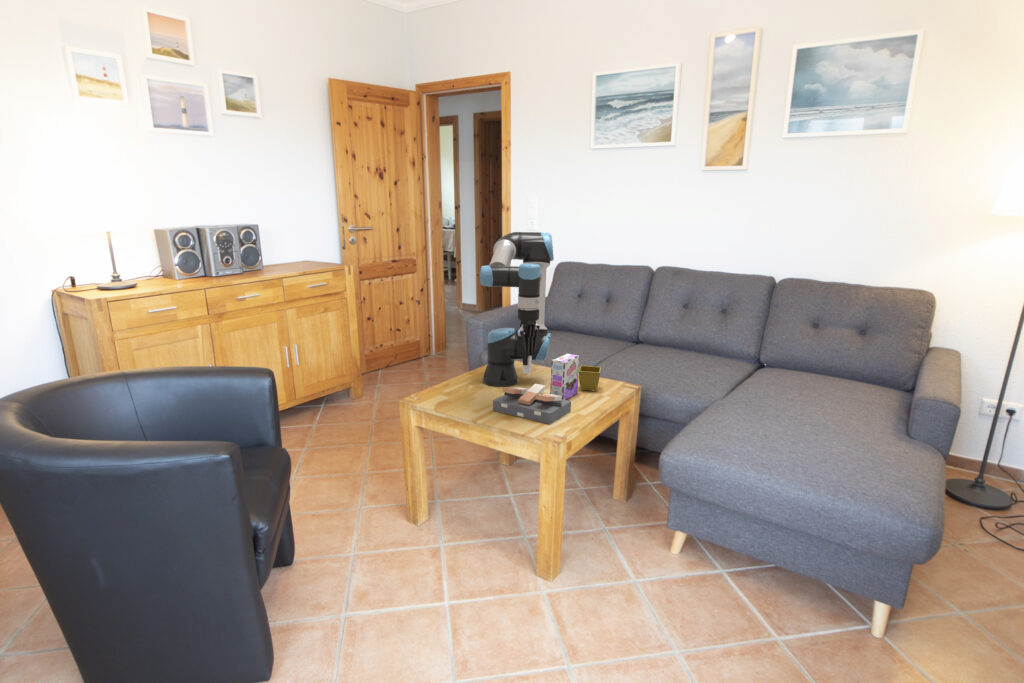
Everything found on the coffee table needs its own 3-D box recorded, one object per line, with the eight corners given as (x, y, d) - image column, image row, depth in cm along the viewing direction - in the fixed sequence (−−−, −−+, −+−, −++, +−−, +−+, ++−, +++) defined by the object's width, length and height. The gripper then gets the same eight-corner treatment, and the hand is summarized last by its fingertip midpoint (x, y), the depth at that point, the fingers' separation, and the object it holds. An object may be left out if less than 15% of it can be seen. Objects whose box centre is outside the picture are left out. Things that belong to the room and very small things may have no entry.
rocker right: (535, 399, 198) (536, 394, 198) (550, 398, 208) (551, 394, 208) (546, 401, 196) (547, 396, 196) (561, 400, 206) (562, 396, 206)
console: (492, 410, 207) (492, 396, 205) (515, 399, 220) (516, 385, 219) (549, 424, 194) (550, 409, 193) (570, 411, 207) (571, 397, 206)
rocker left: (502, 391, 205) (503, 387, 205) (519, 391, 216) (519, 387, 215) (512, 393, 203) (513, 389, 203) (528, 393, 213) (529, 389, 213)
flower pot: (598, 393, 229) (600, 372, 227) (577, 391, 231) (578, 370, 229) (599, 387, 238) (601, 366, 236) (579, 385, 240) (580, 365, 238)
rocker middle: (519, 402, 203) (518, 398, 202) (535, 387, 212) (535, 383, 211) (529, 405, 200) (529, 401, 200) (545, 389, 209) (545, 385, 209)
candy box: (562, 402, 217) (564, 362, 213) (549, 400, 220) (550, 359, 216) (578, 393, 228) (580, 354, 225) (565, 391, 231) (566, 352, 228)
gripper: (528, 312, 187) (526, 379, 193) (547, 307, 198) (544, 370, 204) (509, 309, 191) (508, 375, 197) (528, 304, 202) (527, 367, 207)
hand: (526, 373), depth 200 cm, fingers closed
